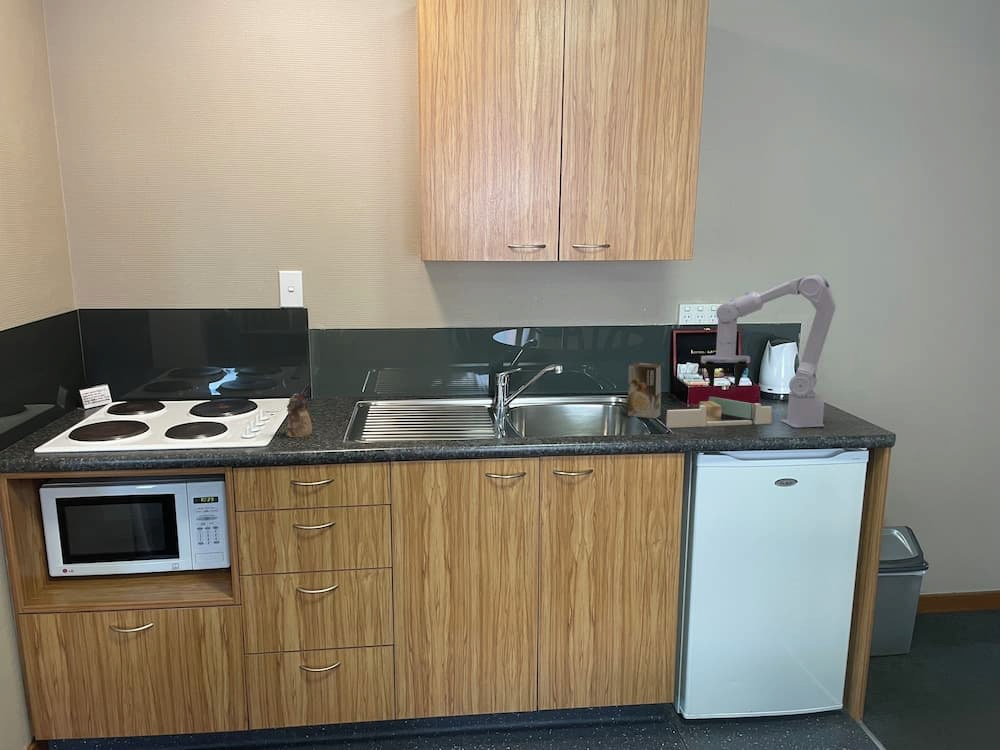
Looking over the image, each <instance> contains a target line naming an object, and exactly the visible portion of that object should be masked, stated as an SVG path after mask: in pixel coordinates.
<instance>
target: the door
mask: <svg viewBox="0 0 1000 750" xmlns="http://www.w3.org/2000/svg"><path fill="white" fill-rule="evenodd" d="M708 401H713V402H715V403H717V404H718V405H720V406H722V407H721V415H727V416H731V417H732V416H733V417H739V418H744V419H748V420H753V419H754V414H755V404H754V403H752V402H746V401H740V400H734V399H729V398H721V397H716V396H708Z"/></svg>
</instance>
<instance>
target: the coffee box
mask: <svg viewBox="0 0 1000 750" xmlns="http://www.w3.org/2000/svg"><path fill="white" fill-rule="evenodd" d="M662 367H663V364H658V363H648V362H645V363H644V362H632V363H630V364H629V365H628V382H627V389H628V390H627V392H628V393H627V416H628V417H637V418H647V419H657V418H658V417H660V416H661V414H662V413H661V409H662V408H661V400H662V399H661V398H662V369H663V368H662Z"/></svg>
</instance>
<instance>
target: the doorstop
mask: <svg viewBox="0 0 1000 750" xmlns="http://www.w3.org/2000/svg"><path fill="white" fill-rule="evenodd" d="M698 403H699V404H698V405H704V406H706V422H711V421H722V414H721V407H722V406H720V405H718V404H717V403H715V402H713V401H709V400H707V401H705V400H704V401H703V400H702V401H699V402H698Z"/></svg>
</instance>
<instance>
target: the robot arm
mask: <svg viewBox="0 0 1000 750" xmlns="http://www.w3.org/2000/svg"><path fill="white" fill-rule="evenodd" d="M786 295H795V296H798V295H799V296H800V295H802V296H803V298H805V299H806V300H808V301H809V302H810V303H811V304H812V305H813V308H814V309H815V310H816V311H815V314H814V318H813V321H812V325H811V328H810V331H809V333H808V337H807V340H806V343H805V347H804V350H803V354H802V357H801V360H800V363H799V366H798V367H797V370H796V373H795V375H793V377H792V378H791V379H790V381H789V383H788V387H789V390H790V391H789V393H788V406H787V407H788V408H787V419H781V422H782V423H784V424H787V426H790V427H792V428H797V429H798V428H817V427H819V428H820V427H825V424H824V414H825V413H824V412H825V401H824V398H823V397H822V396H821V395H820V394H816V393H815V391H814V388H815V387H816V385H817V370H818V365H819V361H820V359H821V355H822V352H823V349H824V346H825V342H826V339H827V336H828V333H829V331H830V327H831V324H832V321H833V317H834V314H835V311H836V301H835V299H834V296H833V292H832V290H831V285H830V283H829V282H828V280H827V279H826V278H825V277H824V276H823V275H821V274H819V273H813V274H810V275H807V276H803V277H798V278H794V279H791V280H788V281H785V282H784V283H781V284H778V285H777V286H775V287H773V288H771V289H768V290H766V291H763V292H761V293H759V292H756V291H747V292H745V293H744V295H742V296H740V297H737V298H735V299H734V298H731V299H729V301H730V302H725V303H722V304H721V305H719V306H718V308H717V309H716V312H715V314H716V318H717V319H718V320H717V329H716V348H715V349H716V350H715V354H712V355H701V356H700V357H701V358H700V363H701V364H703V366H704V368H705V370H706V373H707V377H708V382H709V386H710V387H715V374H716V373H715V371H716V367H717V366H716V365H715V363H716V364H722V363H723V364H725V363H729V364H730V363H733V364H734V383H733V384H734V386H735V387H739V386H740V382H741V380H742V379H741V378H742V376H743V374H744V372H745V371H746V370H747V368H748V364H750V362H751V357H750V356H749V355H739V354H738V355H736V350H737V335H738V334H737V333H738V326H737V323H738V318H743V317H746V316H747V315H750V314H753V313H755V312H759V311H760V310H762V308H763V306H764V304H766V303H768V302H770V301H773V300H776V299H779V298H781V297H783V296H786Z"/></svg>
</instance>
